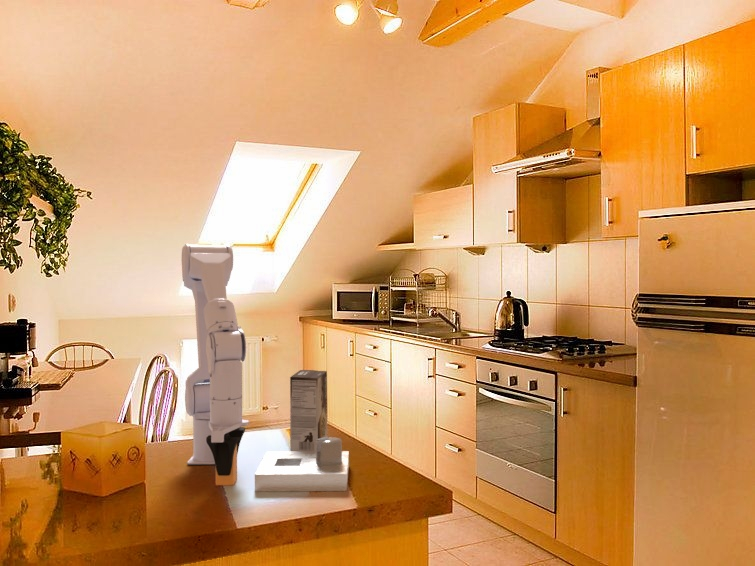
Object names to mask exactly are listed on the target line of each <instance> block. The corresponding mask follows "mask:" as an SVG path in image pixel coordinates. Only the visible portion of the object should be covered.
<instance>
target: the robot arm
mask: <svg viewBox="0 0 755 566" xmlns="http://www.w3.org/2000/svg"><path fill="white" fill-rule="evenodd" d="M233 252H234V251H233V248H232V247H231V245H230V244H221V245H220V244H189V243H185V244H184V245H183V246H182V248H181V271H182V272H181V274H182V275H181V276H182V278H181V279H182V282H183V286H184V287H185V288H187V289H189V290H191V292H192V295H193V298H194V308H195V309H194V310H195V311H194V312H195V323H196V324H195V326H196V328H195V329H196V340H197V342H196V343H197V344H196V345H197V346H196V347H197V359H198V360H197V361H198V368H196V369H195V370H194V371H193V372H192V373H190V374H189V375H188V376H187V378H186V380H185V390H184V391H185V392H184V403H185V411H186V414H187V415H189V416H190V417H192V441H193V444H192V445H193V447H192V448H193V449H192V450H193V454H192V455H191V457H190V459H188V460H187V462H186V464H187V465H215V471H216V470H217V473H218V476H229V475H230V473H231V469H232V463H233V455H234V451H235V447H236V445H237V455H238V453H239V449H240V444H241V440H242V438H243V435H244V433H245V432H246V427H248V426H249V424H250V421H249V420H250V419H249V420H248V419H243V362H244V361H245V360H246V354H247V343H246V336H245V332H244V330H243V329H242V327H241V326H239V325H238V319H237V315H236V309H235V305H234V303H233V302H232V301H231V300H229V299H228V297H227V286H228V285H229V281H230V279H231V275H232V271H233V269H234V268H233V267H234V253H233Z"/></svg>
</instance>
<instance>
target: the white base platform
mask: <svg viewBox="0 0 755 566" xmlns="http://www.w3.org/2000/svg"><path fill="white" fill-rule="evenodd" d="M342 443H343V440H342V438H339V437H335V436H334V437H332V436H327V437H324V438H319V439H317V440H316V451H289V450H287V451H283V450H282V451H280V450H279V451H273V450H271V451H270V450H268V451H266V453H265V454H264V456H263V459H262V460H261V462H260V464H259V466H258V467H257V470H256V472H255V474H254V492H348V491H347V490H348V482H349V481H348V479H349V467H350V462H349V461H350V459H349V458H350V457H349V456H350V453H349V452H350V451H348V450H343V444H342Z"/></svg>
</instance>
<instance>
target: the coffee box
mask: <svg viewBox="0 0 755 566" xmlns="http://www.w3.org/2000/svg"><path fill="white" fill-rule="evenodd" d="M327 372H328V371H327V370H313V369H300V370H298V371H297V372H295V373H294V374H292V375H291V376H290V377H289V381H290V382H289V383H290V384H289V385H290V386H289V387H290V389H289V390H290V391H289V394H290V399H289V400H290V401H289V404H290V409H289V411H290V414H289V415H290V418H289V419H290V423H289V425H290V426H289V427H290V428H289V430H290V432H289V433H290V435H289V436H290V439H289V440H290V441H289V443H290V446H289V447H290V448H289V449H290V451H316V440H317V439H319V438H324V437H328V379H327V378H328V377H327V376H328V373H327Z"/></svg>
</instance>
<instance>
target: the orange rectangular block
mask: <svg viewBox="0 0 755 566" xmlns="http://www.w3.org/2000/svg"><path fill="white" fill-rule="evenodd" d="M237 480H238V454H237V445H236V447H235V451H234V455H233V463H232V469H231V473H230V475H229V476H218V473H217V470H216V469H215V486H234V485H235V484H236V482H237Z"/></svg>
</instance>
